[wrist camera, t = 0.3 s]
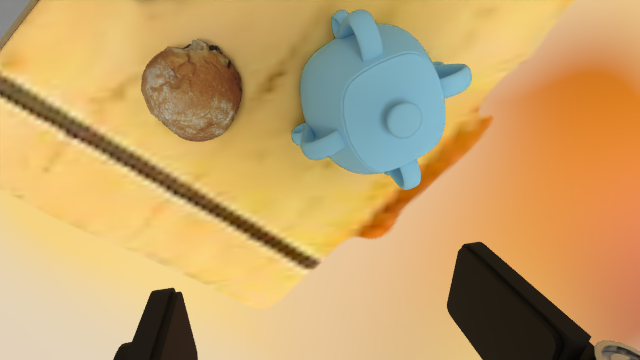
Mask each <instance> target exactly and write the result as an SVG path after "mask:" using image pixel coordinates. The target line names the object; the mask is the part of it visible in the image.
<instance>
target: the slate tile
mask: <svg viewBox="0 0 640 360" xmlns="http://www.w3.org/2000/svg"><path fill="white" fill-rule="evenodd" d="M37 2H38V0H0V49H1V48H2V47H3V46H4V44H5V43H6V42H7V40H8V39H9V38H10V37H11V35H12V34H13V33H14V31H15V30H16V29H17V28H18V26H19V25H20V24H21V22H22V21H23V20H24V19H25V17H26V16H27V15H28V13H29V12H30V11H31V9H32V8H33V7H34V6H35V4H36V3H37Z"/></svg>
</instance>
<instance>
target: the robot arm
mask: <svg viewBox="0 0 640 360" xmlns="http://www.w3.org/2000/svg"><path fill="white" fill-rule="evenodd" d="M447 309H448V312H449V314H450V315H451V317H452V318H453V320H454V321H455V323H456V324H457V325H458V327H459V328H460V329H461V331H462V332H463V333H464V335H465V336H466V338H467V339H468V340H469V342H470V343H471V344H472V346H473V347H474V348H475V350H476V351H477V352H478V354H479V355H480V357H481V358H482V359H483V360H640V352H639V351H638V350H636V349H634V348H632V347H630V346H628V345H625V344H623V343H619V342H614V341H601V342H598V343H597V344H596V345H595V346H593V345H592V344H591V343H590V342H589V340H590V338H591V336H590V335H589V334H588V333H587V332H585V331H584V330H583V329H582V328H581V327H580V326H578V325H577V324H576V323H575V322H574V321H573V320H571V319H570V318H569V317H568V316H567V315H566V314H565V313H563V312H562V311H561V310H560V309H559V308H558V307H556V306H555V305H554V304H553V303H552V302H551V301H549V300H548V299H547V298H546V297H545V296H544V295H542V294H541V293H540V292H539V291H538V290H536V289H535V288H534V287H533V286H532V285H531V284H530V283H528V282H527V281H526V280H525V279H524V278H523V277H522V276H521V275H519V274H518V273H517V272H516V271H515V270H514V269H512V268H511V267H510V266H509V265H508V264H507V263H505V262H504V261H503V260H502V259H501V258H499V256H497V255H496V254H495V253H494V252H492V250H490V249H489V248H488V247H487V246H486V245H484V244H483V243H482V242H475V243H468V244H464V245H463V246H462V248H461V249H460V250H459V251H458V255H457V259H456V264H455V269H454V274H453V278H452V283H451V288H450V292H449V297H448V302H447ZM113 360H198V357H197V350H196V345H195V342H194V338H193V334H192V330H191V326H190V322H189V319H188V314H187V311H186V307H185V303H184V299H183V295H182V293H181V292H176V291H175V289H174V288H168V289H162V290H155V291H152V292H151V294H150V296H149V299H148V302H147V304H146V307H145V310H144V312H143V315H142V317H141V320H140V322H139V325H138V328H137V330H136V333H135V336H134V338H133V341H132V342H129V343H124V344H122V345H121V346H120V347H119V349H118V351H117V353H116V355H115V357H114V359H113Z"/></svg>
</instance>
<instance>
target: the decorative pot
mask: <svg viewBox="0 0 640 360" xmlns="http://www.w3.org/2000/svg"><path fill="white" fill-rule="evenodd" d="M331 23H332V30H333V34H334V36H335V39H333V40H332V41H330V42H329V43H327V44H326V45H324V46H323V47H322V48H320V49H319V50H318V51H317V52H315V53H314V54H313V55H312V56H311V58H310V59H309V60H308V62H307V63H306V65H305V67H304V69H303V72H302V76H301V82H300V97H301V105H302V111H303V115H304V118H305V122H306V123H303V124H300V125H299V126H297V127H296V128H294V129H293V130H292V132H291V137H292V140H293V142H294V143H295V144H297V145H301V149H302V152H303V153H304V155H305V156H306V157H307V158H309V159H311V160H321V159H324V158H327V157H329V158H330V159H331V160H332V161H334V162H335V163H336V164H337V165H339V166H340V167H342V168H344V169H346V170H348V171H351V172H354V173H358V174H378V173H384V174H386V175H390V176H391V177H392V178H393V180H394V181H395V182H396V183H397V185H398V186H399V187H400V188H402V189H404V190H408V189H412V188H414V187H416V186H417V185H418V184H419V183H420V180H421V172H420V168H419V165H418V162H417V158H419V157H421V156H423V155H424V154H426V153H427V152H429V151H430V150H431V149H433V148H434V147H435V146H436V145H437V143H438V142H439V141H440V139H441V137H442V134H443V131H444V126H445V102H444V99H445V98H448V97H451V96H454V95H456V94H459V93H461V92H462V91H464V90H465V89H467V88H468V87H469V85H470V83H471V79H472V75H471V71H470V68H469V67H468V66H467V65H465V64H446V65H445V64H444V63H442V62H432V61H431V59H430V58H429V56H428V54H427V52H426V51H425V49H424V48H423V47H422V45H421V44H420V43H419V42H418V40H417V39H416V38H414V37H413V36H412V35H411V34H410V33H409V32H407V31H405V30H403V29H401V28H399V27H397V26H393V25H389V24H376V23H375V20H374V19H373V17H372V16H371V14H370V13H369V12H367V11H365V10H357V11H354V12H352V13H350V14H349V13H348V12H347V11H345V10H339V11H337V12H336V13H335V14H333V16H332V19H331Z"/></svg>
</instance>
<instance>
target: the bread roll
mask: <svg viewBox="0 0 640 360" xmlns="http://www.w3.org/2000/svg"><path fill="white" fill-rule="evenodd" d="M190 54H191V55H190ZM222 54H223V53H221V51H220V49H219V48H218V47H217V46H213V45H212V46H209V47H208V45H207V43H206V42H202V41H201V40H199V39H197V40H193V42H192V44H189V45H188V46H186V47H185V48H183V49H180V48H173V47H167V48H166V49H165V50H164V51H162V52H160V53H159V54H157V55H156V56H155V57H154V58H153V59H152V60H151V61H150V62H149V63H148V64H147V66H146V69H145V70H144V72H143V75H142V84H141V91H142V94H143V96H144V99H145V101H146V104H147V107H148V108H149V111H150V112H151V114H152V115H154V116H155V117H156V118H157V119H158V120H159V121H162V123H163V124H164V125H165V126H166V127H168V128H169V129H170V130H171V131H172V132H174V133H175V134H177V135H178V136H179V137H181V138H183V139H185V140H189V141H199V142H200V141H207V140H211V139H214V138H216V137H218V136H220V135H222V134H223V133H224V132H225V131H226V130H227V129H228V127H229V126H230V124H231V123H232V121H233V119H234V116H235V115H236V113H237V110H238V108H239V105H240V101H241V95H242V88H241V80H240V76H239V73H238V72H237V71H236V70H235V68H234V67H233V65H232V64H231V61H230V60H229V59H227V58H226V57H225V56H224V55H222Z"/></svg>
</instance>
